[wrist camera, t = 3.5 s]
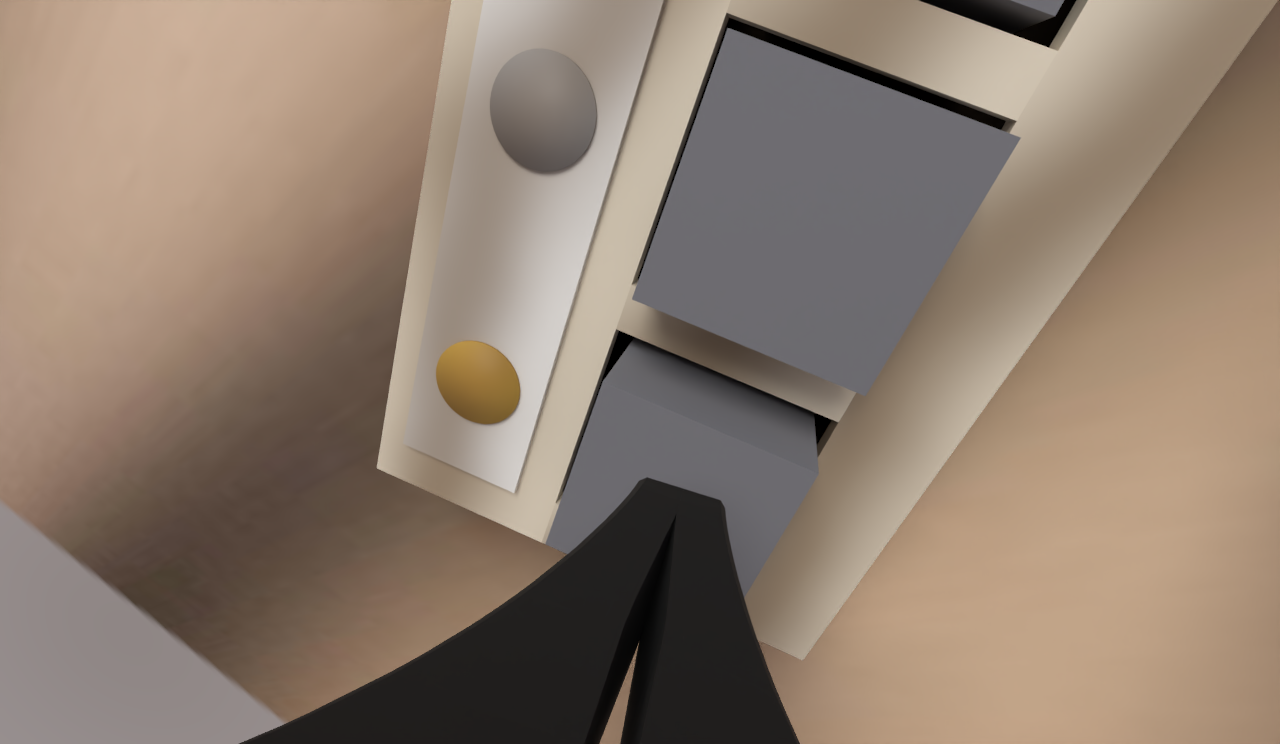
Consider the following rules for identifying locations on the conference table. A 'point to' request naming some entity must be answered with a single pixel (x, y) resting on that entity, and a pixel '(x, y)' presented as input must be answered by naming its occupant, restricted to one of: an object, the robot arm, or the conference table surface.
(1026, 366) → the conference table surface
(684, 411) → the button
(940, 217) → the button
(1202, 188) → the conference table surface
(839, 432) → the button box
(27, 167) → the conference table surface
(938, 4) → the button
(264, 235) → the conference table surface
